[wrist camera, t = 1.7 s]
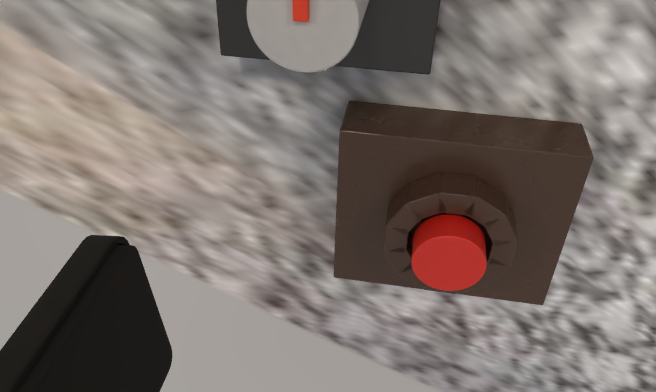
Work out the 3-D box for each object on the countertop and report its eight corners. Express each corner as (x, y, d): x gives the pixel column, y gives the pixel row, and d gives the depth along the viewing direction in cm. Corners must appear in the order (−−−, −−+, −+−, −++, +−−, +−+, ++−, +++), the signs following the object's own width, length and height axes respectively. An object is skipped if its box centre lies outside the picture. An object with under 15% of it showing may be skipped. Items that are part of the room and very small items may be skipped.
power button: (409, 262, 32) (407, 286, 30) (417, 209, 30) (415, 231, 28) (478, 272, 31) (479, 296, 30) (491, 218, 29) (493, 241, 28)
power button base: (341, 242, 38) (328, 299, 34) (348, 100, 32) (334, 149, 28) (536, 267, 36) (547, 330, 32) (582, 123, 31) (602, 178, 27)
